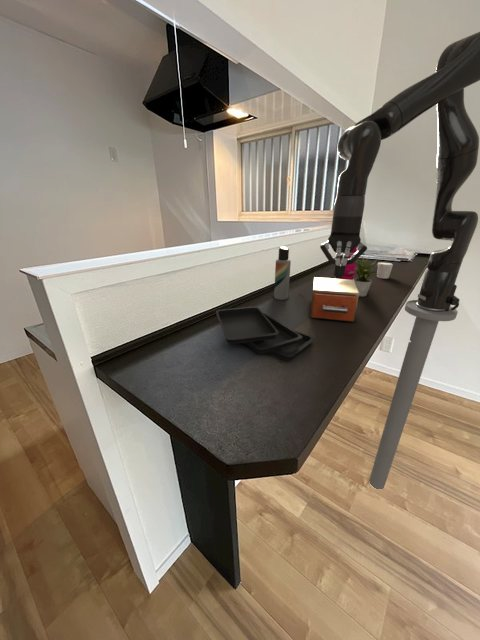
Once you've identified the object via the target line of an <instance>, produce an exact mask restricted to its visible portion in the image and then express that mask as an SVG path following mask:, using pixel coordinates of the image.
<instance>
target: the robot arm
mask: <svg viewBox="0 0 480 640" xmlns="http://www.w3.org/2000/svg"><path fill="white" fill-rule="evenodd" d="M479 81H480V31H478V32H475V33H473V34H471V35H468V36H466V37H464V38H461V39H458V40H456V41H454V42H451V43H450V44H449V45H448V46H445V48H444V50H443V51H442V52H441V54H440V56H439V58H438V61H437V64H436V67H435V72H434V73H432V74H430V75H429V76H426V77H425V78H423V79H421V80H419V81H418V82H415V83H414V84H412V85H410V86H408V87H407V88H405V89H403V90H402V91H400V92H399V93H397V94H396V95H395V96H394V97H392V98H391V99H389V100H388V101H387V102H385V103H384V104H383V105H381V106H380V107H379V108H378V109H376V110H375V111H374V112H372V113H371V114H369V115H368V116H366V117H364V118H363V119H360V120H359V121H358V122H356V123H354V124H353V125H351V126H350V127H348V128H347V129H346V130H345V131H343V133H342V134H341V135H340V137H339V139H338V142H337V146H336V147H337V148H336V149H337V154H338V156H339V157H340V158H341V159H343V160H344V161H349V162H348V165H347V168H346V169H345V170H343V171H342V172H341V173H340V175H339V176H338V182H337V190H336V196H335V200H334V201H335V202H334V205H333V210H332V221H331V228H330V229H331V230H330V234H329V236H328V239H327V241H325V242H323V243H320V245H319V247H320V248H319V249H320V250H321V251H322V253H323V254H324V256H325V257H326V259H327V260H328V262H329V263H330V264H333V265H334V267H333V277H335V279H340V278H342V276H344V274H345V268H346V265H348V264H353V263H354V262H357V259H358V260H359V258H360V257H362V256H363V254H364V253H365V252H366V251H368V247H367V245H365V244H363V243H362V241H361V240H362V239H361V236H360V235H361V228H362V223H363V216H364V211H365V206H366V205H365V203H366V193H367V188H368V180H369V176H370V174H371V172H372V169H373V167H374V165H375V162H376V159H377V156H378V154H379V151H380V148H381V144H382V141H383V140H386V139H388V138H390V137H392V136H393V135H395V134H397V133H398V132H400V131H401V130H402V129H403V128H405V127H406V126H408V125H409V124H410V123H411V122H413V121H414V120H415V119H417V118H419V117H420V116H421V115H423V114H424V113H426V112H427V111H429V110H430V109H431V108H433V107H435V106H436V115H437V146H436V147H437V149H436V173H435V174H436V183H435V184H436V185H435V186H436V187H435V200H434V201H435V202H434V208H433V216H432V223H431V224H432V225H431V233H432V234H431V235H432V237H433V238H434V239H436V240H440V241H450V242H452V243H451V245H450V246H449V247H446V248H444V249H438V250H434V251H432V252H431V253H430V255H429V258H428V263H427V266H426V269H425V273H424V276H423V279H422V283H421V287H420V291H419V293H418V294H417V299H416V300H417V303H416V306H417V307H419V308H421V309H424V310H428V311H433V312H444V311H449V308H450V306H452V307H453V308H451V310H455V309H456V310H457V309H458V307H459V306H460V298H459V297H457V296H455V294H456V290H457V287H458V286H457V284H456V282H457V279H458V276H459V275H458V274H459V273H460V269H461V266H462V263H463V260H464V258H465V256H466V254H467V252H468V249H469V247H470V244H471V242H472V239H473V236H474V234H475V232H476V230H477V226H478V222H479V214H478V212H476V211H473V210H453V209H452V208H453V207H452V205H453V201H454V198H455V196H456V194H457V193H458V191H460V189H461V187H462V186H463V185H464V184H465V183H466V182H467V180H468V179H469V178H470V176H471V175H472V173H473V172H474V171H475V168H476V167H477V164H478V157H479V147H480V135H479V133H478V131H477V128H476V126H475V125H474V123H473V121H472V120H471V118H470V116H469V113H468V112H467V109H466V106H465V105H466V104H465V88H467V87H469V86H472V85H473V84H475V83H477V82H479ZM357 245H358V247H357V251H356V252H355V253H354V254H353V255H352V256H351V257H350V258H349V259H348V256H349V253H350V252H352V251H353V249H354V248H355V247H356V246H357ZM330 247H331V249H332V250H333V252H334V253H335V255H334V257H335V258H334V257H333V256H332V254H331V252H330V251H329V249H330ZM341 256H342V257H341Z"/></svg>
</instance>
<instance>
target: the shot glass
mask: <svg viewBox="0 0 480 640" xmlns="http://www.w3.org/2000/svg"><path fill="white" fill-rule="evenodd" d="M381 262H382V263H381ZM381 262H377V264H378V265H377V268H376V269H377V271H376V274H379V275H376V278H378V279H386V280H387V279H389V278H390V276H391V272H392V270H393V266H394V263H391V262H387V261H381ZM379 263H380V264H379ZM377 272H378V273H377Z"/></svg>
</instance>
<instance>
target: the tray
mask: <svg viewBox="0 0 480 640" xmlns="http://www.w3.org/2000/svg"><path fill="white" fill-rule="evenodd" d="M215 314H216V317H217V319H218V323H219V324H220V327H221V329H222V332H223V334H224V337H225V340H226V342H227V343H228V344H229V345H238V344H243V345H246V346H248V347H249V348H251V349H252V350H253V351H254V352H255V353H256V354H260V355H261V354H267V355H268V356H272V357H273V358H276V359H279V360H281V361H283V362H289V361H291V360H292V359H294V358H295V357H296V356H297V355H299V354H300V353H301V352H302V351H304V350H305V349H306V348H308V347H309V346H310V345H311V344H312V343H313V342H314V341H316V337H315V336H313V335H310V334H307V333H303V332H301V331H298V330H295V329H292V328H290V327H288V326H287V325H286V324H284V323H282V322H280V321H279V320H277V319H275V317H272V316H271V315H269V314H267V313H265V312H264V311H262V310H261V308H260V307H259V306H245V307H244V306H242V307H234V308H221V309H216V311H215Z"/></svg>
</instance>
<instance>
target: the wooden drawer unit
mask: <svg viewBox="0 0 480 640" xmlns="http://www.w3.org/2000/svg"><path fill="white" fill-rule="evenodd" d="M356 302H357V296H353V295H342V294H329V293H315V294H314V302H313V311H312V317H315V318H314V319H318V318H325V319H324V320H329V319H336V320H335V321H339V320H346V321H345V322H349V321H353V318H354V313H355V307H356ZM355 314H356V313H355Z"/></svg>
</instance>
